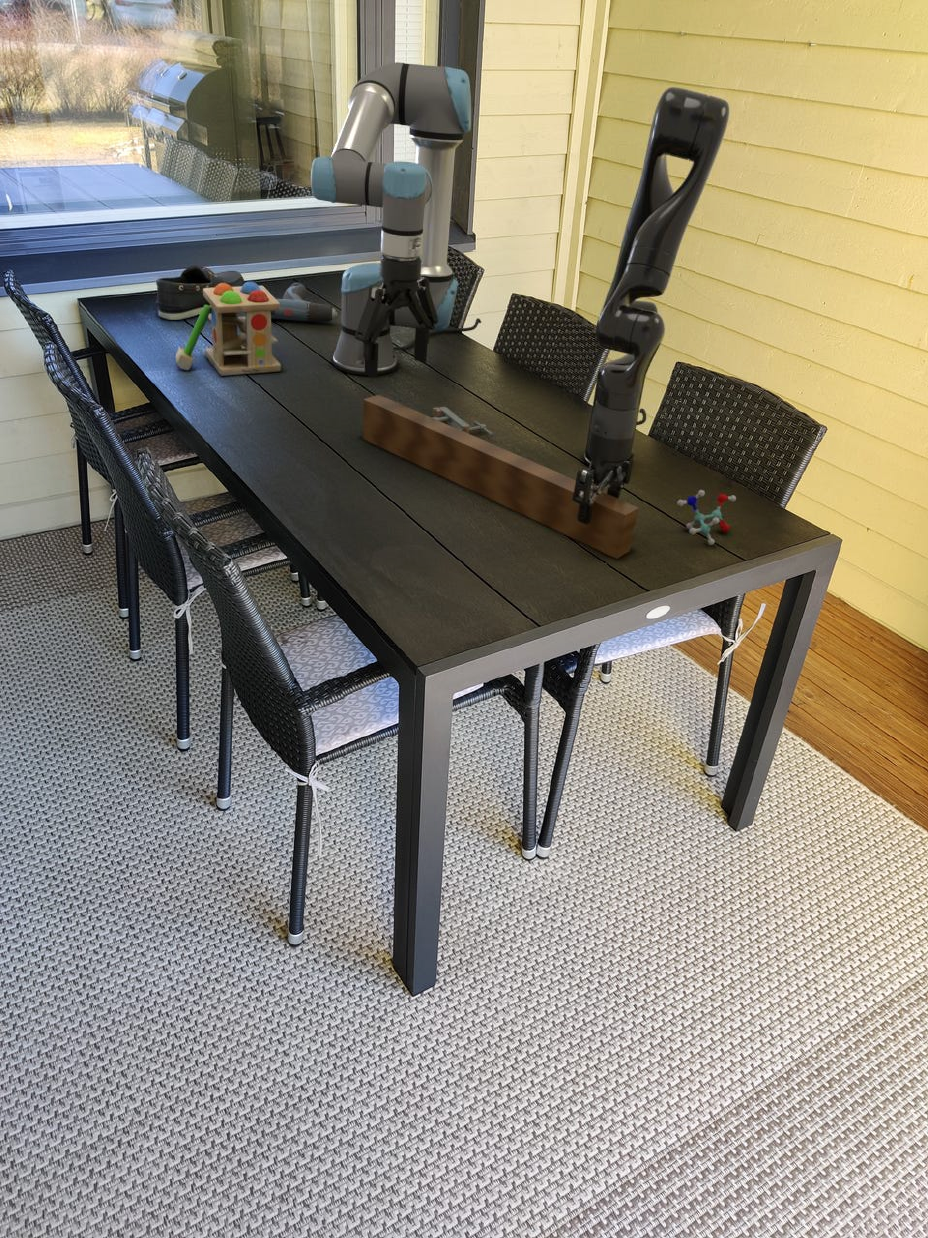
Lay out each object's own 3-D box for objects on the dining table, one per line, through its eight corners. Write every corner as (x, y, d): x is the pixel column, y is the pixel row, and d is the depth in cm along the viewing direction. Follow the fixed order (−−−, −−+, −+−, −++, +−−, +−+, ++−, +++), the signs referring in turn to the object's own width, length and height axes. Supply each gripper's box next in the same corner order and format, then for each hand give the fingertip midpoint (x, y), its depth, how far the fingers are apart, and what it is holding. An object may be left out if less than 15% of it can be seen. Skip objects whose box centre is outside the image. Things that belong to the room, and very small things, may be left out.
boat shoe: (264, 299, 275) (261, 260, 270) (175, 322, 251) (171, 280, 246) (230, 290, 281) (227, 253, 275) (140, 312, 257) (136, 271, 251)
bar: (362, 438, 203) (363, 399, 198) (376, 433, 205) (378, 394, 201) (616, 559, 170) (625, 515, 166) (630, 551, 173) (639, 507, 168)
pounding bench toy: (183, 379, 220) (176, 299, 210) (169, 357, 231) (162, 280, 221) (282, 371, 230) (280, 294, 220) (264, 350, 240) (262, 276, 230)
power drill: (344, 304, 276) (335, 327, 259) (277, 298, 275) (264, 321, 258) (344, 285, 273) (335, 306, 256) (277, 279, 272) (264, 300, 255)
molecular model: (741, 539, 172) (725, 484, 171) (688, 553, 176) (672, 500, 174) (745, 528, 183) (730, 477, 181) (695, 542, 186) (680, 492, 185)
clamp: (420, 409, 212) (460, 403, 217) (420, 418, 213) (460, 412, 218) (454, 436, 202) (496, 430, 206) (454, 446, 203) (495, 439, 208)
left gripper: (366, 270, 169) (363, 387, 181) (461, 251, 186) (452, 360, 197) (336, 260, 173) (335, 375, 185) (432, 242, 189) (425, 349, 201)
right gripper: (607, 446, 157) (591, 535, 166) (654, 425, 166) (637, 510, 175) (569, 431, 160) (556, 519, 169) (617, 411, 170) (602, 495, 179)
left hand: (396, 368), depth 191 cm, fingers open, 13 cm apart
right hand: (597, 514), depth 172 cm, fingers open, 8 cm apart
